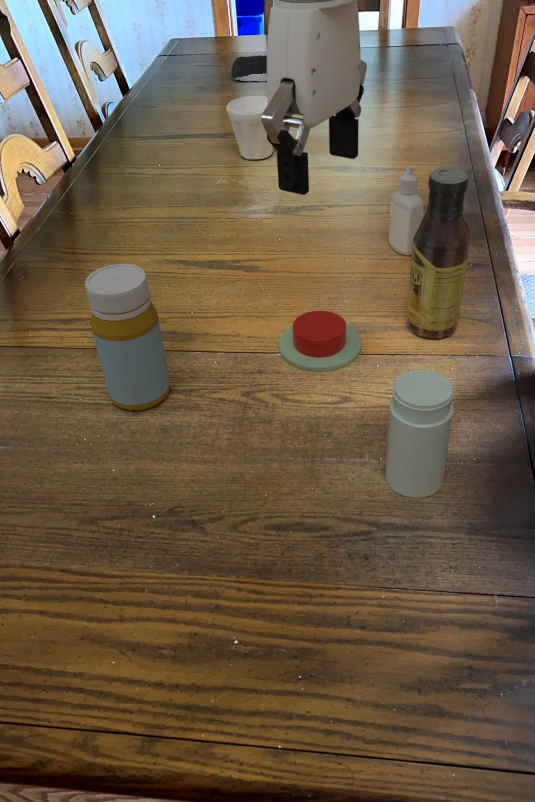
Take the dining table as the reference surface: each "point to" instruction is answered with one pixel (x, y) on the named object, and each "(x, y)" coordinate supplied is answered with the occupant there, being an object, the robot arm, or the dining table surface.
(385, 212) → the dining table surface
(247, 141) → the cup
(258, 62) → the black sneaker
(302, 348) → the cap
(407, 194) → the eye dropper bottle
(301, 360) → the coaster
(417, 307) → the sauce bottle
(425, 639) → the dining table surface
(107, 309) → the bottle
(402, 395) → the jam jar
